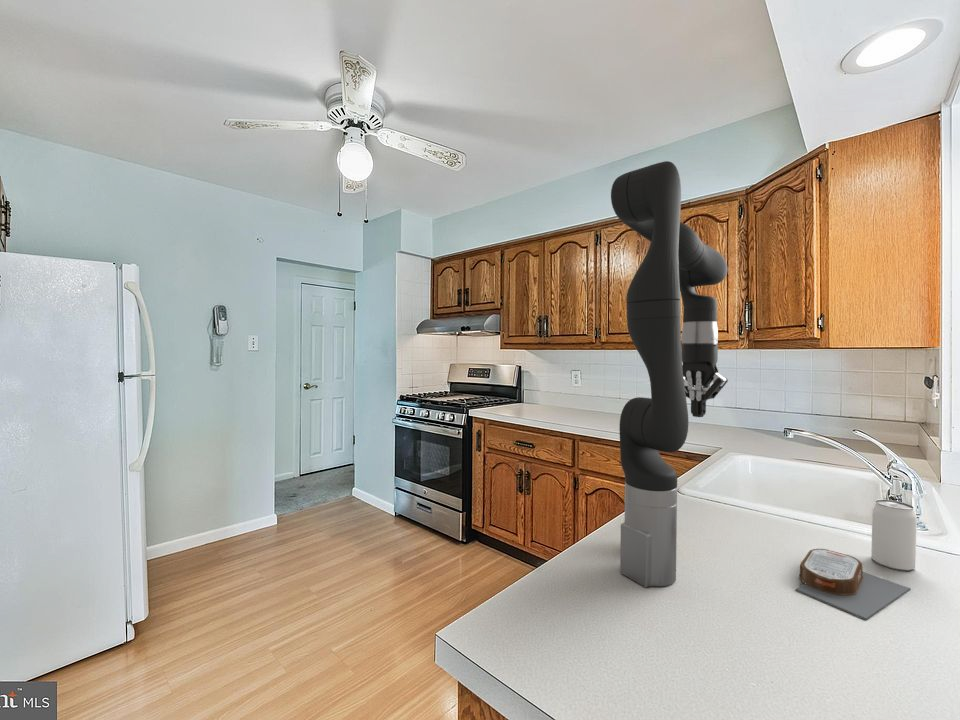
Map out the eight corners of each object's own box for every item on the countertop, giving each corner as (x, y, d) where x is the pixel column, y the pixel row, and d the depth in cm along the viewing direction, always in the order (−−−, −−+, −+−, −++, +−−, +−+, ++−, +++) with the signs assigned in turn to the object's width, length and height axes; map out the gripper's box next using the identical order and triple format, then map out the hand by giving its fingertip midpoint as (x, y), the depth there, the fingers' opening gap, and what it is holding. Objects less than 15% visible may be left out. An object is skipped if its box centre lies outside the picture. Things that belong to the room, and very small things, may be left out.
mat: (866, 620, 70) (866, 618, 70) (795, 590, 79) (795, 588, 79) (910, 589, 79) (910, 588, 79) (842, 565, 88) (842, 564, 88)
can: (906, 560, 90) (908, 501, 90) (922, 574, 84) (923, 511, 84) (866, 553, 93) (867, 496, 93) (878, 567, 87) (879, 506, 87)
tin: (794, 582, 81) (854, 604, 75) (796, 565, 80) (856, 586, 74) (811, 556, 91) (865, 574, 85) (812, 541, 91) (867, 558, 85)
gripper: (664, 342, 107) (663, 414, 107) (717, 341, 95) (715, 422, 96) (684, 342, 111) (683, 412, 111) (737, 341, 99) (735, 419, 99)
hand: (698, 416), depth 103 cm, fingers closed
